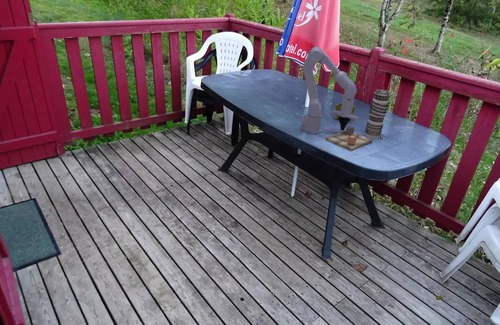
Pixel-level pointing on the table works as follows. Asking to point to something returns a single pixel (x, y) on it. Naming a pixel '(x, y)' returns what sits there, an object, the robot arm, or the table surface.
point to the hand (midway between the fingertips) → (342, 129)
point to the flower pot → (338, 108)
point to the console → (342, 139)
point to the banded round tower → (377, 113)
